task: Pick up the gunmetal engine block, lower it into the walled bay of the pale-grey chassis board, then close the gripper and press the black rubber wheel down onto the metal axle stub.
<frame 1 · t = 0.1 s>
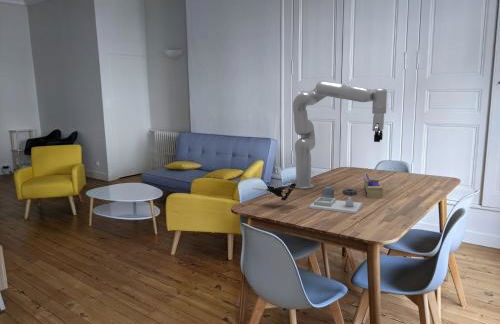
hand: (378, 140, 221), 31 cm above the table, fingers open, 9 cm apart
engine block: (327, 199, 217), on the table
wheel: (349, 192, 198), point 9 cm above the table, slide at 3.0 cm
chassis: (336, 206, 202), on the table
toy sofa: (372, 193, 227), on the table
rocket toy: (271, 206, 207), on the table
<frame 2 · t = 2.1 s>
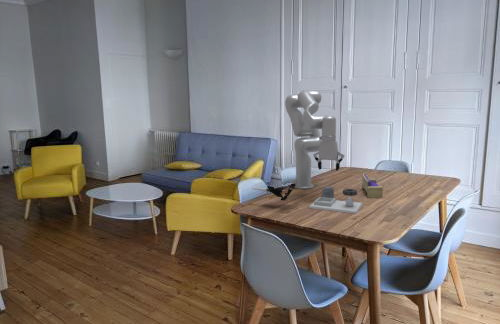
hand: (328, 169, 214), 17 cm above the table, fingers open, 9 cm apart
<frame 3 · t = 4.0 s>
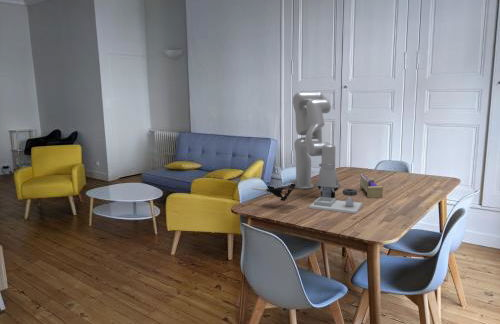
hand: (327, 197, 217), 1 cm above the table, fingers closed on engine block, 5 cm apart
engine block: (327, 198, 217), on the table, touching gripper
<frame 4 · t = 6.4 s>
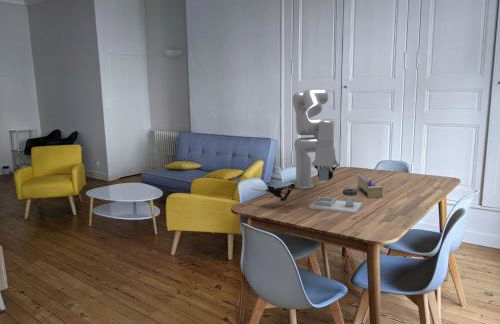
hand: (325, 178, 203), 15 cm above the table, fingers closed on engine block, 5 cm apart
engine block: (325, 179, 203), point 14 cm above the table, touching gripper
when the fingers open (3 cm above the table, at t = 8.8 s): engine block drops 1 cm, resting on chassis.
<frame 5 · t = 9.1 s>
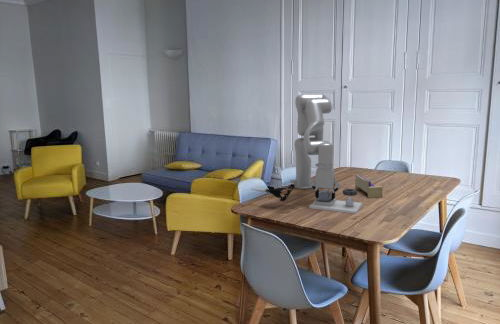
hand: (325, 198, 204), 4 cm above the table, fingers open, 7 cm apart
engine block: (324, 203, 205), point 1 cm above the table, touching chassis
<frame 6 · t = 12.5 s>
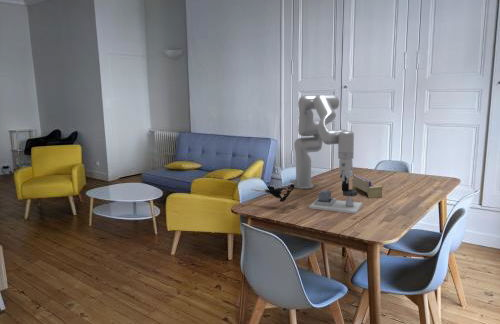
hand: (345, 190, 199), 9 cm above the table, fingers closed
wheel: (349, 192, 198), point 8 cm above the table, slide at 2.7 cm, touching gripper
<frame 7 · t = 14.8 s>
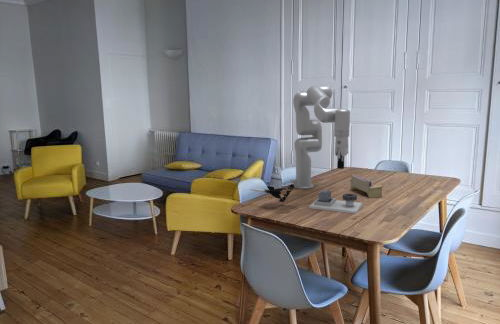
hand: (340, 168, 201), 20 cm above the table, fingers closed
wheel: (349, 197, 198), point 6 cm above the table, slide at 0.4 cm
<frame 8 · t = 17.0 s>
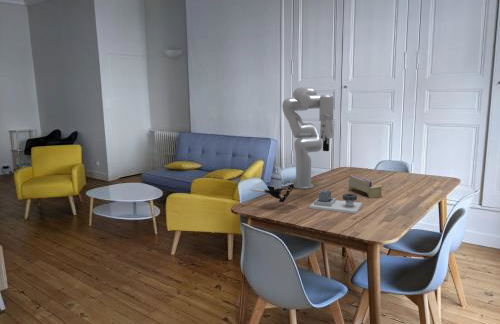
hand: (325, 150, 215), 27 cm above the table, fingers closed
at the end: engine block 0.1 cm from the target spot on the chassis, point 1.2 cm above the chassis's base; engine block tilted 0°; wheel slide at 0.4 cm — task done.
